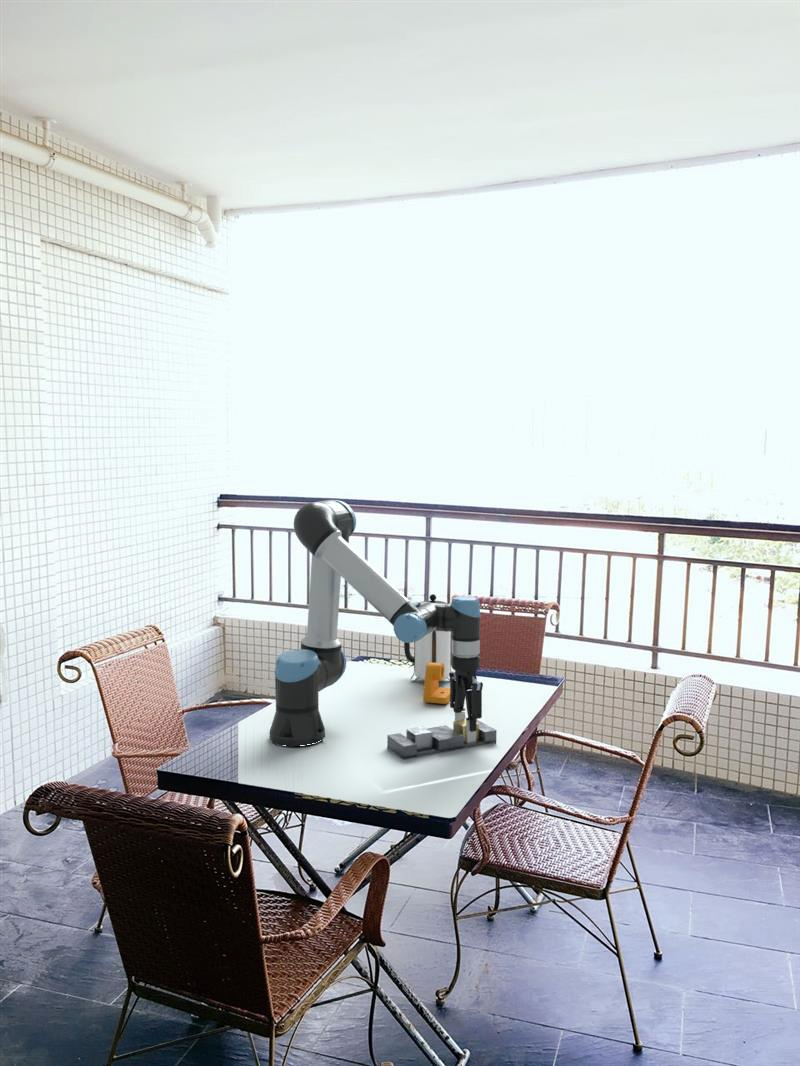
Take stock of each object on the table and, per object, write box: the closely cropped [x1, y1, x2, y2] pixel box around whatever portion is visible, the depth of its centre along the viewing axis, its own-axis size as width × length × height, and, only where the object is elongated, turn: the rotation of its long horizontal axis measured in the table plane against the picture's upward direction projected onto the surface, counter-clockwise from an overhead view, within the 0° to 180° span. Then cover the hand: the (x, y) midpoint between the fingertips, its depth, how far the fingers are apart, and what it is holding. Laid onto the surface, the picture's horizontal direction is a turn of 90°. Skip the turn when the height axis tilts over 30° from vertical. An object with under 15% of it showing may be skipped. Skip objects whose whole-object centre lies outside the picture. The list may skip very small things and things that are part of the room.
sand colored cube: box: [452, 718, 479, 743], centre depth 233 cm, size 5×5×5 cm
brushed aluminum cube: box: [405, 726, 432, 752], centre depth 226 cm, size 5×5×5 cm
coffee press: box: [403, 593, 452, 682], centre depth 292 cm, size 17×16×30 cm
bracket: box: [422, 662, 450, 705], centre depth 271 cm, size 11×7×12 cm, turn 162°
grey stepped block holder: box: [386, 719, 498, 760], centre depth 230 cm, size 28×10×4 cm, turn 117°
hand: (465, 738), depth 233 cm, fingers closed on sand colored cube, 5 cm apart
